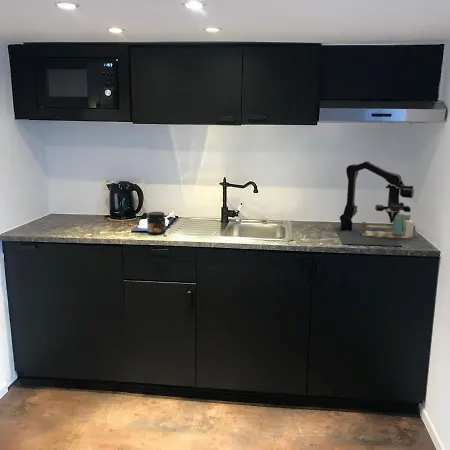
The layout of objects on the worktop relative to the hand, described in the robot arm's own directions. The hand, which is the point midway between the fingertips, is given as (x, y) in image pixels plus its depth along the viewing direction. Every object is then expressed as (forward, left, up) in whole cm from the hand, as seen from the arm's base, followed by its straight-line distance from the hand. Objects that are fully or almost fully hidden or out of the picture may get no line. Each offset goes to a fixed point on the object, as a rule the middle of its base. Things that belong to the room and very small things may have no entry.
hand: (391, 222), depth 275 cm
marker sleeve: (+3, 0, -6) cm, 7 cm away
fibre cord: (-3, 0, -3) cm, 5 cm away
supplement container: (-135, -19, -8) cm, 137 cm away
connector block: (+10, 0, -7) cm, 12 cm away
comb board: (-2, 0, -8) cm, 8 cm away
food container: (+8, +16, -8) cm, 19 cm away
